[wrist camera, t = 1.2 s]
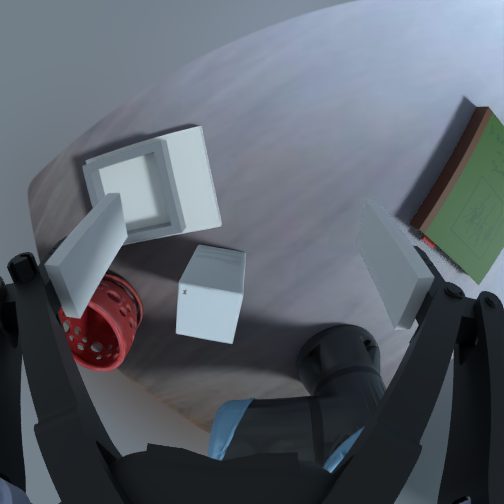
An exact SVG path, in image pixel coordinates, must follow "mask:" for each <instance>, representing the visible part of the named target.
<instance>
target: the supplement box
mask: <svg viewBox="0 0 504 504" xmlns="http://www.w3.org/2000/svg"><path fill="white" fill-rule="evenodd" d="M245 258H246V253H245V252H239V251H234V250H228V249H223V248H217V247H211V246H205V245H200V244H199V245H198V246H197V248H196V250H195V252H194V254H193V256H192V258H191V259H190V261H189V263H188V265H187V267H186V269H185V271H184V273H183V275H182V277H181V279H180V280H179V283H178V299H177V321H176V334H181V335H186V336H192V337H197V338H202V339H207V340H213V341H218V342H224V343H230V344H233V339H234V335H235V331H236V326H237V322H238V317H239V313H240V308H241V304H242V299H243V285H244V273H245Z"/></svg>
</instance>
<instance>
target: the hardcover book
mask: <svg viewBox="0 0 504 504" xmlns="http://www.w3.org/2000/svg"><path fill="white" fill-rule="evenodd" d="M410 224H411V225H413V226H414V227H416V228H417V229H419V230H420V231H421V232H422V233H424V234H425V235H424V237H423V238H422V239H423V240H424V241H425V242H426V243H427V244H428V245H430V246H431V247H432V248H434V246H435V245H437V246H438V247H439V248H441V249H442V250H443V251H444V252H445V253H446V254H447V255H448V256H449V257H450V258H451V259H453V260H454V261H455V262H456V263H457V264H458V265H459V266H460V267H461V268H462V269H463V270H464V271H465V272H466V273H467V274H468V275H469V276H470V277H471V278H472V279H473V280H474V281H475V282H476V283H477V284H478V285H479V284H480V283H481V281H482V280H483V278H484V277H485V275H486V274H487V272H488V271H489V269H490V268H491V266H492V265H493V263H494V262H495V260H496V259H497V257H498V255H499V254H500V252H501V250H502V249H503V247H504V126H503V125H502V123H501V122H500V121H499V119H498V118H497V117H496V115H495V114H494V113H493V112H492V110H491V109H490V108H489V107H476V110H475V112H474V114H473V116H472V118H471V120H470V122H469V124H468V126H467V128H466V130H465V131H464V133H463V135H462V137H461V139H460V141H459V143H458V145H457V146H456V148H455V150H454V152H453V154H452V155H451V157H450V159H449V161H448V163H447V164H446V166H445V168H444V169H443V171H442V173H441V175H440V176H439V178H438V180H437V181H436V183H435V185H434V186H433V188H432V190H431V191H430V193H429V194H428V196H427V198H426V199H425V201H424V202H423V204H422V205H421V207H420V209H419V210H418V212H417V213H416V215H415V216H414V218H413V219H412V221H411V222H410Z"/></svg>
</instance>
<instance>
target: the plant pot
mask: <svg viewBox="0 0 504 504" xmlns="http://www.w3.org/2000/svg"><path fill="white" fill-rule="evenodd" d="M62 312H63V313H62ZM58 314H59V316H60V318H61V321H62V324H63V323H64V321H65V320H67V321H68V323H69V330H68V332H65V334H66V337H67V340H68V343H69V346H70V348H71V351H72V354H73V357H74V360H75V362H77V363H78V364H80V365H81V366H83V367H86V368H88V369H91V370H95V371H110V370H113V369H115V368H117V367H118V366H119V365H120V364H121V363H122V362H123V360H124V359H125V357H126V355H127V354H128V352H129V350H130V348H131V346H132V343H133V341H134V337H135V334H136V329H137V328H138V327H139V326H140V324H141V321H142V318H143V306H142V302H141V300H140V297H139V295H138V294H137V292H136V291H135V289H134V288H133V287H132V286H131V285H130V284H129V283H128V282H126V281H125V280H124V279H122V278H120V277H118V276H115V275H112V274H105V275H104V276H103V278H102V280H101V281H100V283H99V285H98V287H97V288H96V290H95V292H94V294H93V296H92V297H91V299H90V301H89V303H88V305H87V307H86V308H85V310H84V312H83V314H82V316H81V318H73V317H66V315H65V313H64V311H63V308H62V307H61V308H60V310H59V312H58ZM75 327H77V328H78V329H79V334H78V335H77V334H76V333H75V331H74V329H75ZM70 335H71V336H72V337H73V341H71V340H70V338H69V336H70ZM82 338H85V339H86V340H87V342H86V343H85V342H83V341H82ZM78 344H80V345H82V346H83V348H84V350H79V349H78V347H77V345H78ZM92 344H100V345H101V346H102V347H103V349H102V351H101V352H94V351H92V349H91V345H92ZM109 347H112V349H108V348H109ZM118 350H119V351H118ZM109 355H111V356H110V357H108V356H109ZM97 357H101V359H99V360H98V359H96V358H97ZM116 357H117V358H116ZM115 358H116V359H115Z"/></svg>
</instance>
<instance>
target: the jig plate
mask: <svg viewBox="0 0 504 504" xmlns="http://www.w3.org/2000/svg"><path fill="white" fill-rule="evenodd" d="M82 167H83V172H84V176H85V180H86V185H87V189H88V193H89V196H90V200H91V204H92V208H94V207H95V206H96V205H97V204H98V203H99V202H100V201H101V200H102V199H103V198H104V197H105V196H106V194H107V193H120V196H121V203H122V209H123V214H124V220H125V225H126V230H127V236H128V237H127V238H126V240H125V242H124V243H123V245H127V244H132V243H137V242H142V241H147V240H152V239H157V238H162V237H167V236H172V235H178V234H183V233H188V232H193V231H199V230H204V229H210V228H215V227H221V225H222V221H221V216H220V212H219V207H218V203H217V198H216V193H215V189H214V184H213V179H212V174H211V170H210V165H209V160H208V155H207V150H206V145H205V141H204V136H203V131H202V126H197V127H193V128H189V129H185V130H181V131H177V132H174V133H170V134H166V135H162V136H159V137H155V138H152V139H149V140H145V141H142V142H139V143H135V144H132V145H129V146H126V147H123V148H120V149H117V150H114V151H111V152H108V153H105V154H102V155H99V156H97V157H94V158H91V159H88V160H86V165H84V166H82Z"/></svg>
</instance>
